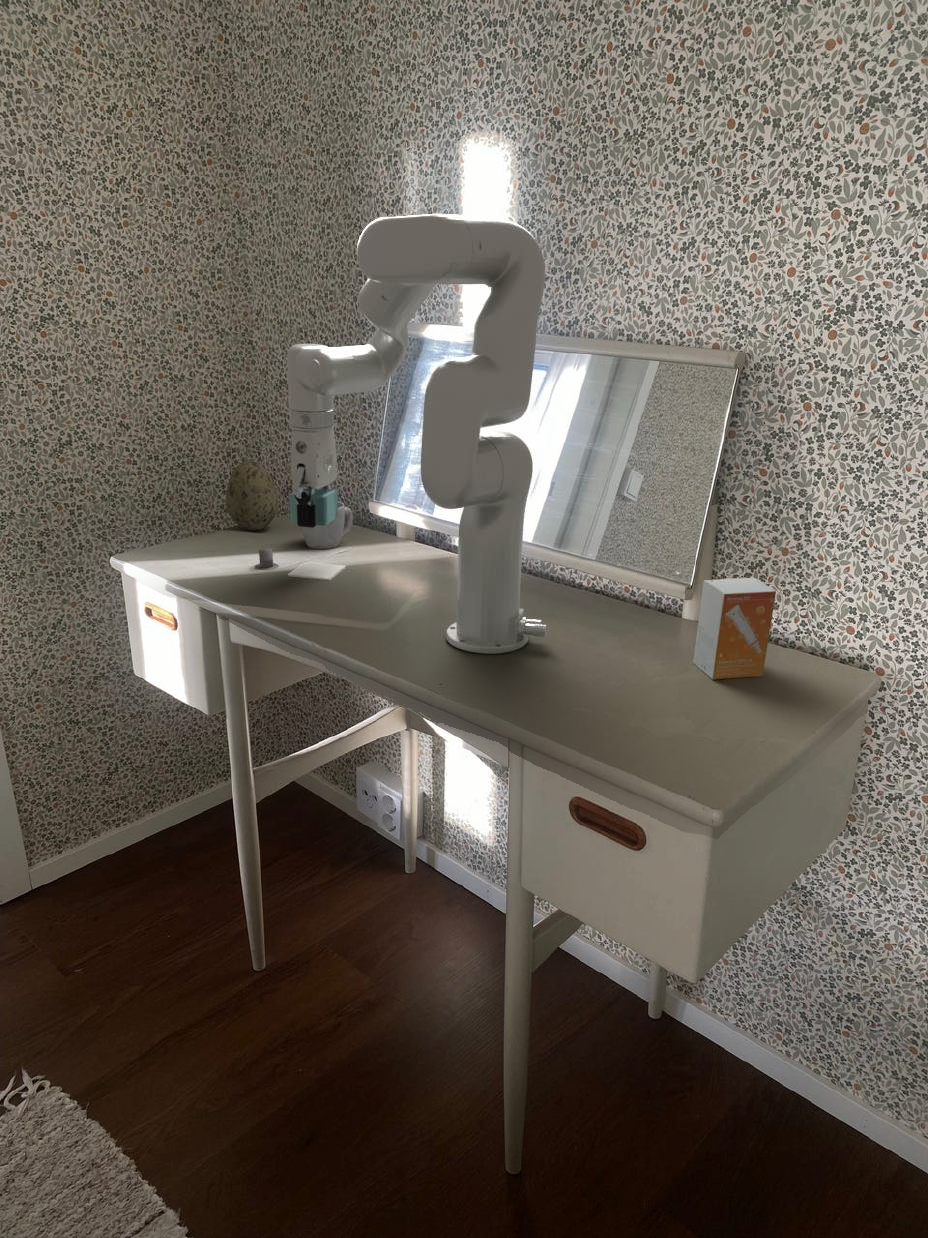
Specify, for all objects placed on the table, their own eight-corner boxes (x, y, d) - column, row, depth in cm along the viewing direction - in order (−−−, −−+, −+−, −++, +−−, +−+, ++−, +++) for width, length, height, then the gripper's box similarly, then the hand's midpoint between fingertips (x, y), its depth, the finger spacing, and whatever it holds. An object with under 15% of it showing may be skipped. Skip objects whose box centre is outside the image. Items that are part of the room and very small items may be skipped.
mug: (320, 561, 179) (318, 512, 176) (291, 551, 185) (289, 504, 181) (366, 548, 188) (365, 502, 184) (337, 540, 193) (336, 494, 190)
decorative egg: (219, 534, 195) (214, 463, 189) (239, 521, 205) (235, 454, 199) (268, 538, 193) (264, 466, 188) (286, 525, 203) (283, 456, 198)
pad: (346, 568, 171) (346, 565, 171) (329, 581, 164) (329, 578, 163) (305, 564, 173) (305, 561, 172) (287, 577, 165) (287, 574, 165)
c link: (338, 516, 167) (337, 489, 165) (324, 525, 161) (323, 497, 159) (305, 513, 168) (304, 486, 167) (290, 522, 163) (289, 494, 161)
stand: (355, 572, 173) (354, 548, 171) (330, 592, 162) (330, 566, 160) (256, 562, 177) (255, 538, 176) (226, 581, 167) (224, 555, 165)
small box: (712, 681, 131) (723, 593, 126) (692, 663, 136) (702, 579, 132) (764, 676, 132) (777, 590, 128) (742, 659, 138) (754, 576, 133)
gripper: (312, 429, 150) (315, 536, 156) (350, 413, 165) (352, 511, 172) (269, 425, 151) (274, 532, 158) (311, 411, 167) (314, 508, 174)
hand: (314, 520), depth 165 cm, fingers closed on c link, 6 cm apart
